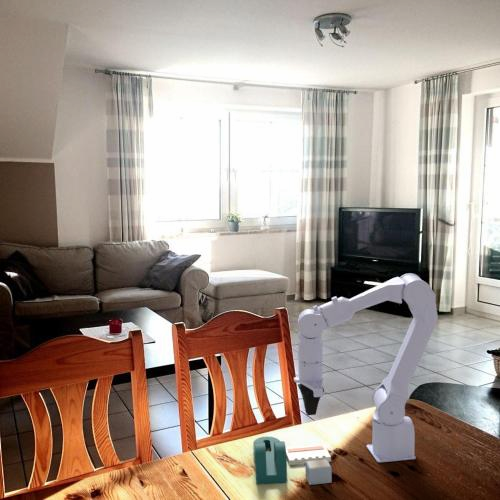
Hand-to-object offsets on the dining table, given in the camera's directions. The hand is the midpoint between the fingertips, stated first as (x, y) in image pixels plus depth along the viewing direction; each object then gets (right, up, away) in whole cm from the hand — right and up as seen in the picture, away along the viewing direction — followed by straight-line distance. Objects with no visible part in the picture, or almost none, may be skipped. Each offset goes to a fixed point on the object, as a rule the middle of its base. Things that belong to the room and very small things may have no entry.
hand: (310, 413), depth 132 cm
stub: (0, -11, -11) cm, 16 cm away
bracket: (-10, -11, -3) cm, 15 cm away
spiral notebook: (-1, -10, -1) cm, 10 cm away
